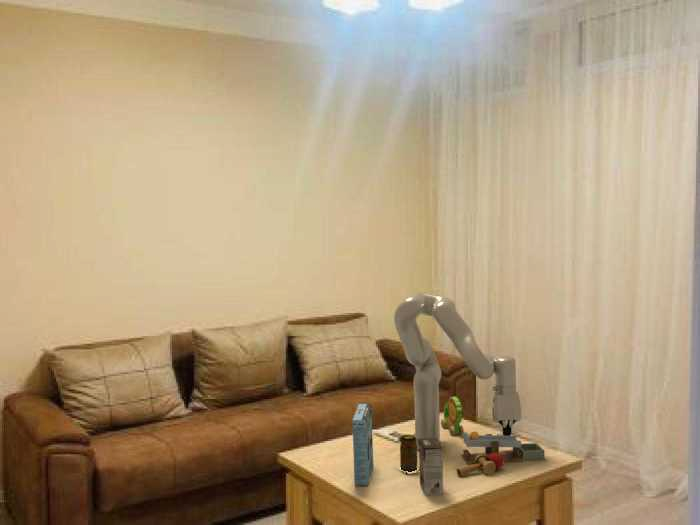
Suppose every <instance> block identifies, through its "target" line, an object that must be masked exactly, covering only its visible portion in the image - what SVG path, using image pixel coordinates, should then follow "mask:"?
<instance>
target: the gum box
mask: <svg viewBox="0 0 700 525" xmlns="http://www.w3.org/2000/svg"><path fill="white" fill-rule="evenodd" d="M372 413H373V412H372V404H370V403H359V404H358V406H357V408H356V410H355V413H354V415H353V418H352V420H351V421H352V439H353V440H352V444H353V445H352V446H353V447H352V448H353V449H352V451H353V475H354V476H353V477H354V480H353V484H355V485H354V486H356V485H368V486H369V484H370V478H371V475H372V472H373V467H374V447H373V446H374V443H373V418H372V417H373V416H372V415H373V414H372ZM371 471H372V472H371Z"/></svg>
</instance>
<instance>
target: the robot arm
mask: <svg viewBox="0 0 700 525" xmlns="http://www.w3.org/2000/svg"><path fill="white" fill-rule="evenodd" d="M420 315H424V316H428V317H433V320H435V322H436V323H437V324H438V325H439V327H440V328H441V330H443V332H444V333H445V335H447V337H448V338H449V340H450V341H451V342H452V343H453V345H454V347H455V350H457V352H458V353H459V355H460V356H461V358H462V359H463V361H464V363H465V364H466V365H467V366H468V368H469V370H470V371H471V372H472V373H473V375H474V376H475V377H477V378H478V379H480V380H484V381H485V380H488V379H491V377H493V375H495V377H494V378H495V384H494V386H492V387H491V390H492V391H494V394H493V398H492V407H491V408H492V422H493V423H495V424H499V425H501V426H502V431H501V432H502V434H503V435H504V436H512V427H514V426H513V425H514V424H515V423H517V422H519V421H520V422H521V421H522V407H521V406H522V405H521V399H520V398H521V397H520V394H519V392H518V391H517V375H516V374H517V373H516V372H517V370H516V358H514V357H513V356H511V355H510V356H509V355H501V356H497V355H490V354H484V353H483V352H482V350H481V348H480V347H479V346H478V343H477V342H476V340H475V336H474V333H473V331H472V329H471V327H470V326H469V325H468V324H467V323H466V321H465V320H464V319H463V317H462V316H461V315H460V313H459V312H458V311H457V309H456V304H455V302H454V301H453V300H452V299H450V298H448V297H444V296H439V295H438V296H437V295H433V294H428V293H423V292H413V293H411V294H409V295H407V296H406V297H405V298H404V299H403V300H402V301H401V303H399V305H398V306H397V308H396V309H395V312H394V321H393V322H394V326H395V329H396V332H397V334H398V337H399V340H400V344H401V347H402V349H403V351H404V356H405V358H406V359H407V362H409V364H411V365H412V366H414V368H415V370H416V372H415V374H414V376H413V381H412V382H413V384H412V385H413V393H414V394H413V395H414V396H413V398H414V433H413V434H412V435H414V436H415V437H416V444H417V452H419V439H421V438H437V439H438V441H439V442H440V444H441V445H442V447H443V448H444V446H445V444H444V441H441V439H440V438H441V437H440V436H441V435H440V432H441V430H440V429H441V428H440V426H441V425H440V424H441V420H440V395H439V394H440V392H439V391H440V389H439V388H440V387H439V384H440V381H441V379H442V369H441V366H440V364H439V361H438V358H437V355H436V353H435V351H434V348H433V345H432V343H431V342H430V340H428V339H427V338H426V337H423V335H422V332H421V330H420V326H419V324H418V323H417V318H418V317H420Z"/></svg>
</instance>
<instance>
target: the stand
mask: <svg viewBox="0 0 700 525" xmlns="http://www.w3.org/2000/svg"><path fill="white" fill-rule="evenodd" d="M485 435H493V434H492V433H485ZM484 448H485V450H484V451H485V452H477V453H471V452H470V451H469V450H468V449H465V448H464V449H462V453H461V458H462V459H463V460H464V462H465V463H466V465H467V466H469V465H473V464H475V458H476V457H477V456H478V455H480V454H482V455H484V456H485V457H486V458H487V456H488V455H489V454H491V453H498V454H500V455H501V456H502V458H503V464H504V463H518V462H519V463H520V462H525V461H524V460H523V458H522V457H521V449H520V448H519V447H512V450H511V451H500V447H499V442H498V441H492V447H484Z"/></svg>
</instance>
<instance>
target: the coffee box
mask: <svg viewBox="0 0 700 525" xmlns="http://www.w3.org/2000/svg"><path fill="white" fill-rule="evenodd" d="M443 449H444V447H442V445H441V444H440V442H439V441H438V439H437V438H421V439H419V451H418V452H419V454H418V455H419V460H418V461H419V468H420V473H419V486H420V487H421V489H422V492H423V494H424V495H425V496H432V495H433V496H435V495H434V494H437V495H443V494H444V464H443V463H444V453H443V452H444V450H443Z"/></svg>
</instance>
